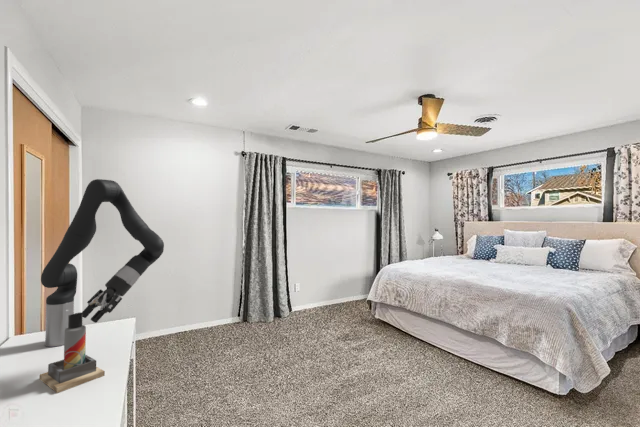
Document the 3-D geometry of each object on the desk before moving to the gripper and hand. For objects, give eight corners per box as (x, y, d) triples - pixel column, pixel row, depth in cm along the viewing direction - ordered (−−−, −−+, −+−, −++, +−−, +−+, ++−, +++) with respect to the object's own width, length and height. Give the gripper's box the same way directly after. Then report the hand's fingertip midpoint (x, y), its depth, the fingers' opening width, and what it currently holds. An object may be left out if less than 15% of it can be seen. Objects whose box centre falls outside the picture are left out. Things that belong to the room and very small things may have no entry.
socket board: (39, 379, 105) (39, 363, 105) (85, 364, 116) (85, 350, 116) (57, 393, 97) (57, 376, 97) (104, 375, 108) (104, 360, 108)
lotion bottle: (72, 378, 103) (73, 316, 103) (59, 376, 105) (60, 314, 105) (89, 370, 109) (90, 311, 109) (76, 368, 110) (77, 310, 110)
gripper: (106, 272, 122) (70, 309, 112) (125, 276, 114) (87, 317, 104) (121, 284, 126) (87, 320, 116) (140, 288, 118) (105, 328, 109)
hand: (87, 318), depth 110 cm, fingers open, 8 cm apart
